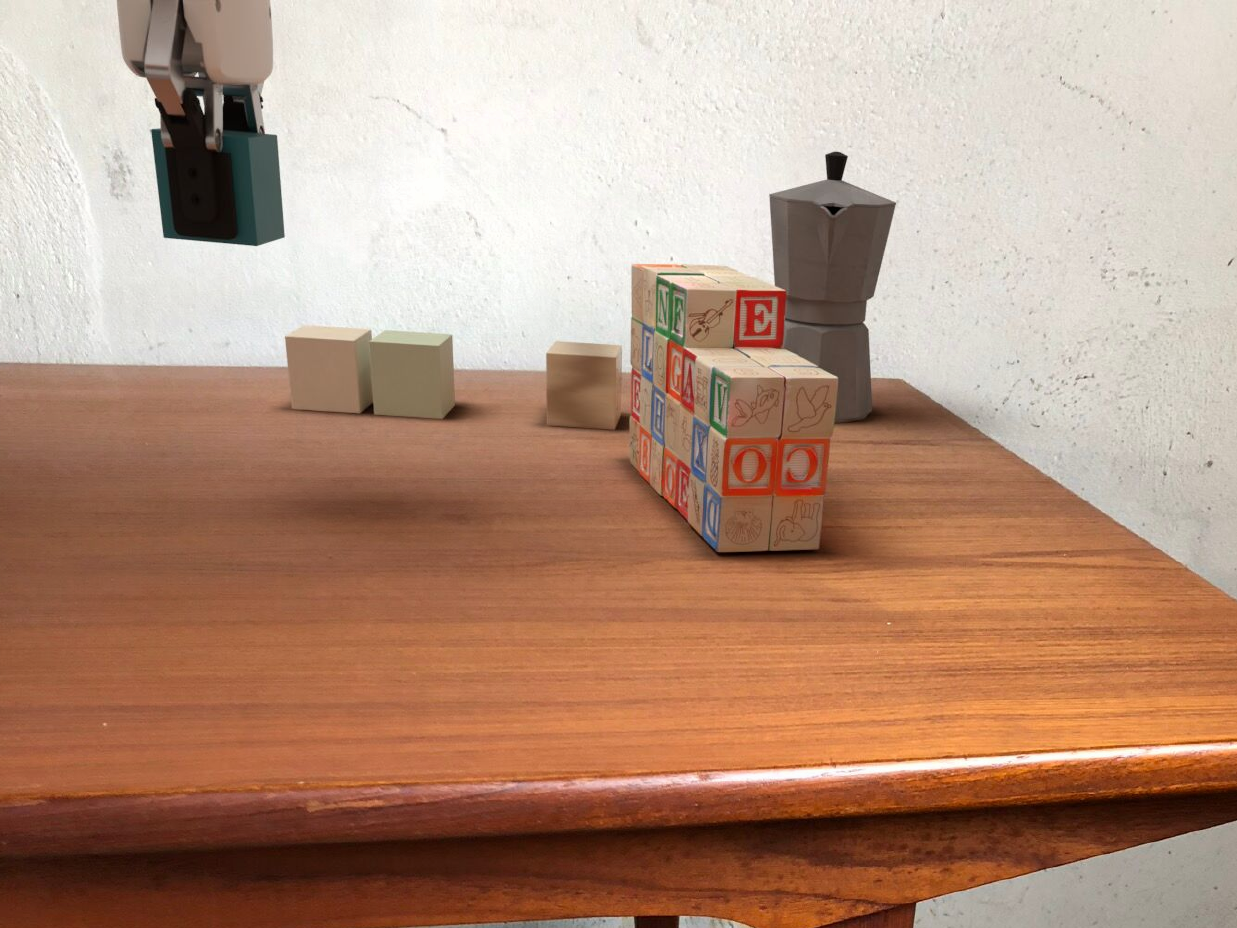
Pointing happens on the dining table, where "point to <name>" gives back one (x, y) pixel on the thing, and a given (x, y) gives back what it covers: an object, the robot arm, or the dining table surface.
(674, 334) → the stack of blocks
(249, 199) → the teal block
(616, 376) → the block
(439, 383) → the block
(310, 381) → the block
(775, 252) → the coffeepot
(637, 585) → the dining table surface
